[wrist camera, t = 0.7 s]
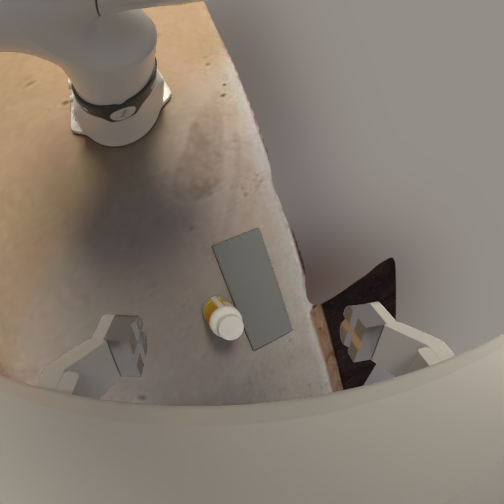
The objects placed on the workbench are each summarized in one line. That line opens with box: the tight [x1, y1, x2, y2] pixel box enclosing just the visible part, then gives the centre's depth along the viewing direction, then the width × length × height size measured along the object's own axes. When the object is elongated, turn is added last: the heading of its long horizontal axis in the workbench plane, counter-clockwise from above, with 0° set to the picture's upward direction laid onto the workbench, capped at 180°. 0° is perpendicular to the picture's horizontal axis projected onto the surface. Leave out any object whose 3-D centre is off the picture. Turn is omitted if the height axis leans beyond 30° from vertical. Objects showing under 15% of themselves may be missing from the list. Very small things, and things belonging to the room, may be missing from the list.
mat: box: [212, 228, 293, 350], centre depth 51 cm, size 22×9×1 cm, turn 20°
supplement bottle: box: [202, 296, 244, 340], centre depth 45 cm, size 5×5×10 cm
